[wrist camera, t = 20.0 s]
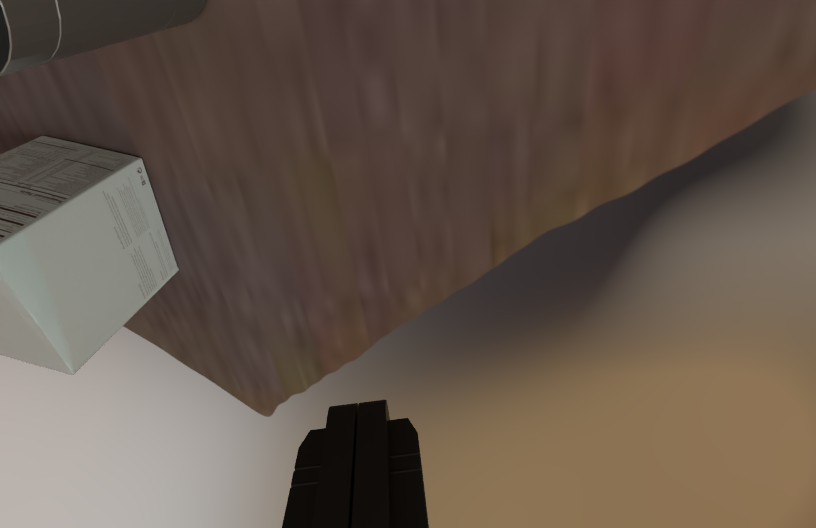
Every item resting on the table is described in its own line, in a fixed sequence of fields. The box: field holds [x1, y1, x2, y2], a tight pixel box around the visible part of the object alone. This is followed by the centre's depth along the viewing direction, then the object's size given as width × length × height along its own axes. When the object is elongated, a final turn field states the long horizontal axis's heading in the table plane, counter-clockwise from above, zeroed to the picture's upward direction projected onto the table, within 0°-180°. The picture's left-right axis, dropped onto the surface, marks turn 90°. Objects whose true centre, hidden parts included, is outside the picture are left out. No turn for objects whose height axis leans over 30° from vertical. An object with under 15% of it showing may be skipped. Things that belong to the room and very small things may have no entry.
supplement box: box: [0, 136, 179, 375], centre depth 45 cm, size 17×13×18 cm
